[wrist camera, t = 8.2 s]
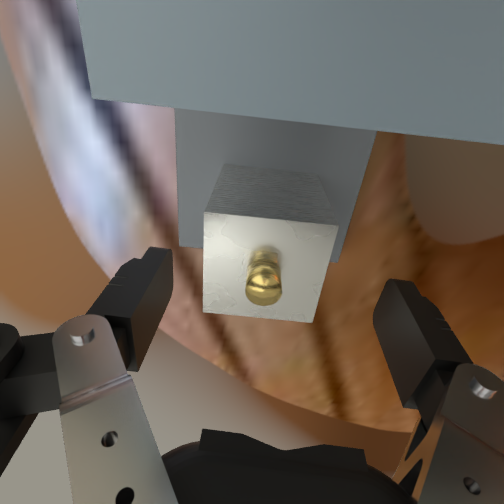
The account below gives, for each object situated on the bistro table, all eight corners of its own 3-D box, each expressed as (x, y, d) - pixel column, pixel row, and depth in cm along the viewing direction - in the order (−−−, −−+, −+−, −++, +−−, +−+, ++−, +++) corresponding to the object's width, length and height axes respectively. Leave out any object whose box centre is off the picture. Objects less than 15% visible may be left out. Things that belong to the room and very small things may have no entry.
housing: (317, 173, 16) (346, 242, 10) (300, 252, 19) (315, 343, 13) (223, 163, 16) (197, 227, 10) (219, 244, 19) (198, 331, 13)
